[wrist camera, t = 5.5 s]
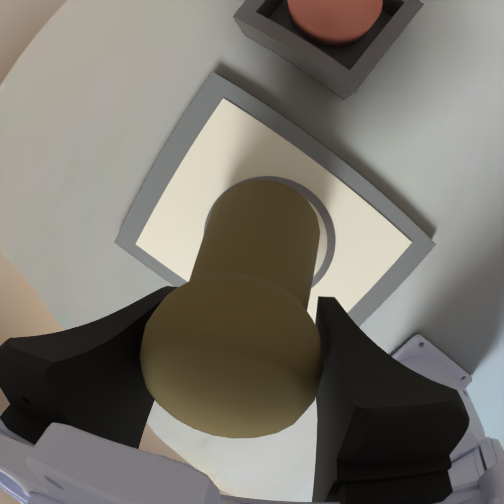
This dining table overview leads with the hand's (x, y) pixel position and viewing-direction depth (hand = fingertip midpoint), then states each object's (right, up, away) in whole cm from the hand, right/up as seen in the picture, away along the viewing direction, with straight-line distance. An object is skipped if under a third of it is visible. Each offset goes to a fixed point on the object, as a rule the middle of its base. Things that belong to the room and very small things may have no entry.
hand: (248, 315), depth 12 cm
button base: (+4, +16, +3) cm, 17 cm away
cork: (+1, +3, +5) cm, 6 cm away
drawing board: (+1, +3, +8) cm, 9 cm away
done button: (+4, +15, +1) cm, 15 cm away
